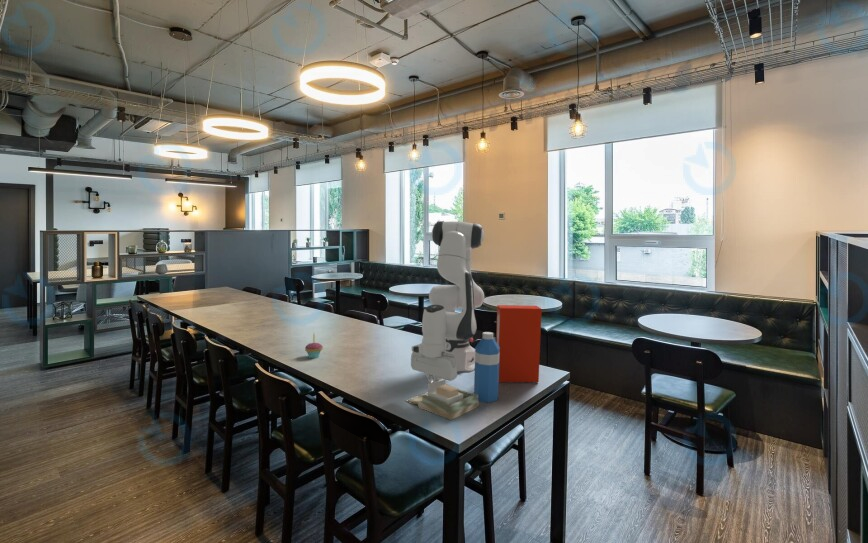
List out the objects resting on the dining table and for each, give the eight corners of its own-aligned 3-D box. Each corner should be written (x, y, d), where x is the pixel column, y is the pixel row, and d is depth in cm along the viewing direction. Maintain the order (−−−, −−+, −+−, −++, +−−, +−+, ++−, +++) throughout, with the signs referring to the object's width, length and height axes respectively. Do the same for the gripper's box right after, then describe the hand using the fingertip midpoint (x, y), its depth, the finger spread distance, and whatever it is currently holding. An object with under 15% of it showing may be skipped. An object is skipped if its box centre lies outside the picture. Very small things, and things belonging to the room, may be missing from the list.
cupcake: (305, 355, 210) (305, 331, 209) (322, 354, 213) (322, 331, 212) (305, 359, 202) (305, 335, 201) (323, 358, 205) (323, 334, 204)
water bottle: (496, 393, 163) (497, 330, 161) (500, 402, 153) (502, 336, 152) (472, 392, 162) (474, 330, 161) (475, 402, 153) (477, 335, 151)
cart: (442, 395, 154) (443, 378, 153) (463, 403, 147) (463, 385, 146) (427, 401, 148) (427, 383, 148) (447, 409, 141) (447, 391, 141)
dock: (431, 392, 164) (431, 379, 164) (478, 409, 149) (479, 394, 149) (402, 404, 152) (402, 389, 152) (450, 423, 137) (451, 407, 137)
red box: (538, 383, 175) (541, 308, 172) (498, 382, 174) (500, 307, 172) (533, 377, 183) (536, 305, 180) (494, 376, 183) (497, 304, 180)
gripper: (461, 353, 147) (460, 391, 148) (419, 343, 161) (419, 378, 162) (449, 357, 142) (449, 396, 143) (408, 346, 156) (407, 381, 157)
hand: (432, 386), depth 153 cm, fingers closed
